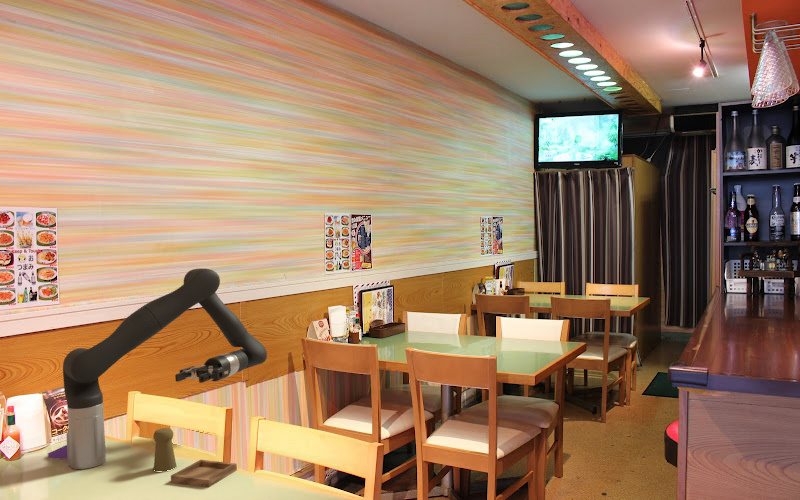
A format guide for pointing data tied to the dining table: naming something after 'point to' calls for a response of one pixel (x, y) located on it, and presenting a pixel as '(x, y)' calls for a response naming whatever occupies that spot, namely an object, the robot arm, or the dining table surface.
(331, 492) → the dining table surface
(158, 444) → the olive pepper mill
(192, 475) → the tray
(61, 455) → the bracket
